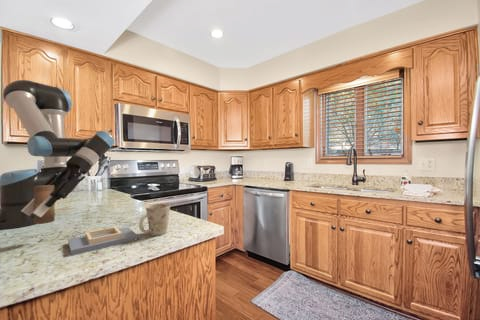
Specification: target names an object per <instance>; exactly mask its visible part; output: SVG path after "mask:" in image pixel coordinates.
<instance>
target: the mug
mask: <svg viewBox="0 0 480 320" xmlns="http://www.w3.org/2000/svg"><path fill="white" fill-rule="evenodd" d="M145 209H146V213H144V214H143V215H142V216H141V218H140V220H139V224H138V225H139V226H138V227H139V230H140V232H142V233H143V234H147V233H149V235H151V236H161V235H164V234H167V233H168V229H169V228H168V227H169V218H170V209H171V205H170V204H169V203H156V204H150V205H147V206H146V207H145ZM146 218H147V223H148V229H147V230H146V229H145V228H144V226H143V225H144V220H145V219H146Z"/></svg>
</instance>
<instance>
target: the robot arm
mask: <svg viewBox="0 0 480 320" xmlns="http://www.w3.org/2000/svg"><path fill="white" fill-rule="evenodd" d="M2 91H3V93H2V98H3V101H4V102H5V103H6V105H7V106H8V107H9V108H11V109H13V111H14V112H15V113H14V114H16V116H17V118H18V119H19V121H20V123H21V124H22V126H23V128H24V130H25V132H26V133H27V135H28V136H29V138H28V140H27V144H26V148H27V152H28V154H30V155H31V156H32V157H42V158H43V161H44V165H42V166H41V167H40V171H39V170H38V168H29V169H21V170H20V169H18V170H13V171H7V172H4V173H2V174H1V175H0V230H5V229H6V230H8V229H9V230H10V229H16V228H23V227H28V226H29V227H30V226H33V225H36V224H35V218H34V214H35V215H37V216H39V217H42V216H43V215H44V214H45V213H46V212H47V211H48V209H49V208H50V207H51V206H52V205H53V204H54V203H55V204H56V202H57V201H60V200H61V199H66V198H67V197H68V196H69V195H70V194H71V193H73V192H74V191H75V189H76V188H77V186H78V185H79V184H80V182H81V181H83V180H84V179H85V178H86V174H87V173H88V172H89V171H90V170H91V169H92V167H93V166H94V165H97V162H98V161H99V160H101V158H102V157H103V156H104V155H105V154H106V153H107V152H108V150H110V149H111V148H112V146H114V144H115V138H114V137H113V135H112V134H110V133H109V132H107V131H105V130H99V131H98V132H96V133H94V135H93V136H91V137H88V138H85V139H83V138H82V139H81V138H67V137H66V131H65V129H66V128H65V119H64V118H65V117H66V116H67V115H68V112H70V111H71V109H72V106H73V103H72V97H71V94H70V93H69V92H68V91H66V89H64V88H60V87H57V86H52V85H49V84H44V83H39V82H35V81H32V80H26V79H19V80H15V81H12V82H9V83H8V84H7V85H6V86H5V87H4V89H3V90H2ZM68 157H70V158H69V159H68ZM42 185H54V193H50V195H52V196H50V195H49V196H48V197H47V198H46V199H45V200H44V201H43V202H42V203H41V204H40V205H39V206H38V207H37V208H36V209H35V210H34V187H35V186H42Z"/></svg>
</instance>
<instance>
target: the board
mask: <svg viewBox="0 0 480 320" xmlns="http://www.w3.org/2000/svg"><path fill="white" fill-rule="evenodd" d="M84 234H85V235H81V236H77V237H71V238H68V239H67V240H68V241H67V243H68V244H67V245H68V249H69V252H70V256H76V255H79V254H83V253H88V252H92V251H96V250H101V249H104V248H109V247H112V246H118V245H120V244H126V243H129V242H133V241H137V240H138V239H139V236H138V233H136V232H135V231H133V229H131V228H130V227H129V226H126V227H122V228H118V227H117V226H112V227H107V228H102V229H97V230H92V231H85V233H84Z"/></svg>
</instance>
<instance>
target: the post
mask: <svg viewBox="0 0 480 320" xmlns="http://www.w3.org/2000/svg"><path fill="white" fill-rule="evenodd" d="M50 193H54V185H42V186H35V187H34V210H35V209H36V208H37V207H38V206H39V205H40V204H41V203H42V202H43V201H44V200H45V199H46V198H47V197H48V196H49V195H50ZM50 196H52V195H50ZM55 204H56V202H55V203H54V204H53V205H52V206H51V207H50V208H49V209H48V211H47V212H46V213H45V214H44V215H43V216H42V217H39V216H37V215H35V214H34V218H35V224H34V225H44V224H50V223H53V222H55V221H56V219H55V218H56V217H55V216H56V214H55V209H56V208H55Z"/></svg>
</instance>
